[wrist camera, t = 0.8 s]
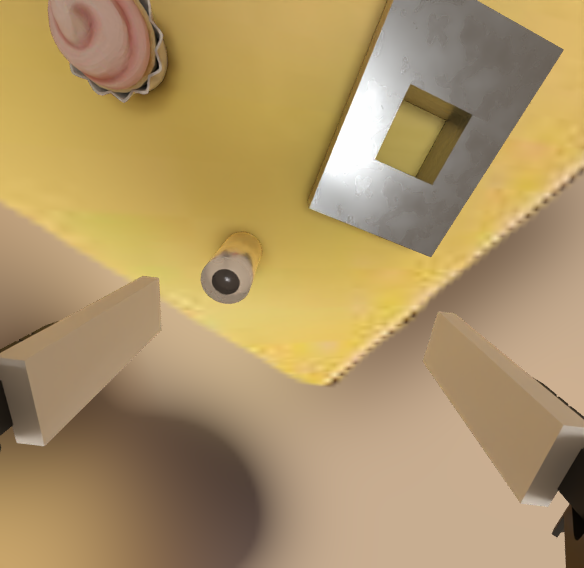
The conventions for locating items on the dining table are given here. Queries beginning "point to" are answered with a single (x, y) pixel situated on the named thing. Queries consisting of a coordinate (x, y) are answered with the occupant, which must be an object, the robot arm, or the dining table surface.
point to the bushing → (232, 268)
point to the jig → (437, 100)
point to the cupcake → (110, 44)
